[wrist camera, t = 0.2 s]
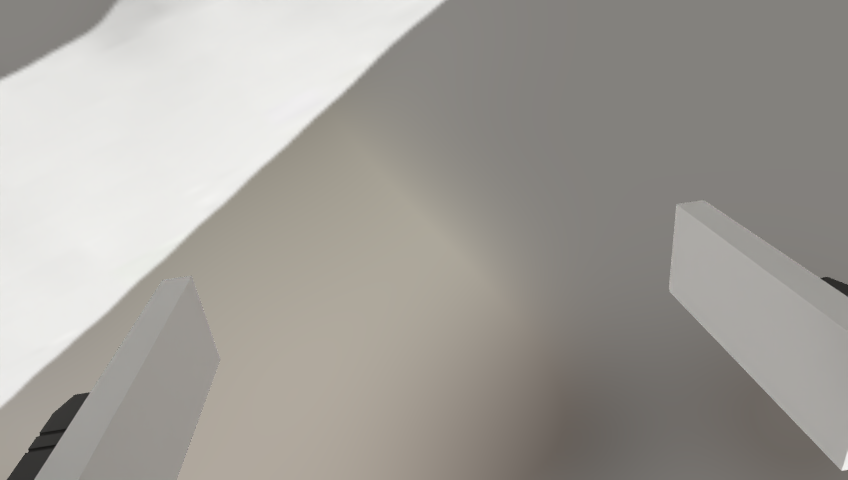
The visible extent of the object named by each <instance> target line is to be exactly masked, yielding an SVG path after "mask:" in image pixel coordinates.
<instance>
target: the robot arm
mask: <svg viewBox="0 0 848 480" xmlns="http://www.w3.org/2000/svg"><path fill="white" fill-rule="evenodd" d="M671 262H672V263H671V272H670V284H669V291H670V292H671V293H672V294H673V295H674V296H675V297H676V299H677V300H678V301H679V302H680V303H681V304H682V305H683V306H684V307H685V308H686V309H687V310H688V311H689V312H690V313H691V314H692V315H693V316H694V317H695V318H696V319H697V320H698V322H700V323H701V324H702V326H703V327H704V328H705V329H706V330H707V331H708V332H709V333H710V334H711V335H712V336H713V337H714V338H715V339H716V340H717V341H718V342H719V343H720V344H721V345H722V347H723V348H724V349H725V350H726V351H727V352H728V353H729V354H730V355H731V356H732V357H733V358H734V359H735V360H736V361H737V362H738V363H739V364H740V365H741V366H742V367H743V368H744V369H745V371H747V373H748V374H749V375H750V376H751V377H752V378H753V379H754V380H755V381H756V382H757V383H758V384H759V385H760V386H761V387H762V388H763V389H764V390H765V391H766V392H767V393H768V394H769V395H770V397H771V398H772V399H773V400H774V401H775V402H776V403H777V404H778V405H779V406H780V407H781V408H782V409H783V410H784V411H785V412H786V413H787V414H788V415H789V416H790V417H791V418H792V419H793V420H794V422H795V423H796V424H797V425H798V426H799V427H800V428H801V429H802V430H803V431H804V432H805V433H806V434H807V435H808V436H809V437H810V438H811V439H812V440H813V441H814V442H815V443H816V445H817V446H818V447H819V448H820V449H821V450H822V451H823V452H824V453H825V454H826V455H827V456H828V457H829V458H830V459H831V460H832V461H833V462H834V463H835V464H836V465H837V466H838V467H839V468H840V469H841V470H848V285H847V284H844V283H842V282H839V281H836V280H834V279H831V278H829V277H824V278H819V277H817V276H816V275H814V274H813V273H811V272H810V271H808V270H807V269H806V268H804V267H803V266H801V265H800V264H798V263H797V262H795V261H794V260H792V259H791V258H789V257H787V256H786V255H785V254H783V253H782V252H780V251H779V250H777V249H776V248H774V247H773V246H771V245H770V244H768V243H767V242H765V241H764V240H762V239H761V238H759V237H758V236H756V235H755V234H753V233H752V232H750V231H749V230H747V229H746V228H744V227H743V226H741V225H740V224H739V223H737V222H735V221H734V220H732V219H731V218H730V217H728V216H727V215H725V214H724V213H722V212H721V211H719V210H718V209H716V208H715V207H713V206H712V205H710V204H709V203H707V202H706V201H704V200H702V201H695V202H688V203H682V204H677V205H676V217H675V229H674V239H673V250H672V261H671ZM219 362H220V357H219V354H218V351H217V348H216V345H215V342H214V340H213V336H212V334H211V331H210V328H209V325H208V322H207V319H206V316H205V313H204V310H203V307H202V304H201V301H200V298H199V295H198V292H197V290H196V287H195V284H194V281H193V278H192V276H188V277H181V278H174V279H167V280H162V282H161V283H160V285H159V286H158V288H157V289H156V291H155V293H154V294H153V296H152V297H151V299H150V300H149V302H148V303H147V305H146V307H145V308H144V310H143V311H142V313H141V315H140V316H139V318H138V319H137V321H136V322H135V324H134V325H133V327H132V329H131V330H130V331H129V333H128V335H127V336H126V338H125V340H124V341H123V342H122V344H121V345H120V347H119V349H118V350H117V352H116V353H115V355H114V356H113V358H112V359H111V361H110V363H109V364H108V366H107V367H106V369H105V370H104V372H103V373H102V375H101V377H100V378H99V380H98V381H97V383H96V384H95V386H94V387H93V389H92V391H91V392H90V393H84V394H77V395H74V396H73V397H72V398H70V399H69V400H68V401H67V402H66V403H65V404H63V405H62V406H61V407H60V408H59V409H58V410H56V411H55V412H54V413H53V414H52V416H51V417H50V419H49V420H48V422H47V423H46V425H45V426H44V427H43V429H42V430H41V432H40V436H39V437H36V439H35V440H34V442H33V443H32V445H31V446H30V447H29V449H28V450H29V452H28V453H25V455H24V456H23V457H22V459H21V460H20V462H19V463H18V465H17V466H16V468H15V469H14V471H13V472H12V473H11V475H10V476H9V478H8V479H7V480H177V477H178V475H179V472H180V469H181V467H182V464H183V461H184V458H185V455H186V453H187V450H188V447H189V445H190V442H191V439H192V436H193V433H194V431H195V428H196V425H197V423H198V420H199V417H200V414H201V412H202V409H203V406H204V403H205V401H206V398H207V395H208V392H209V389H210V387H211V384H212V381H213V378H214V376H215V373H216V370H217V367H218V365H219Z"/></svg>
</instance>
